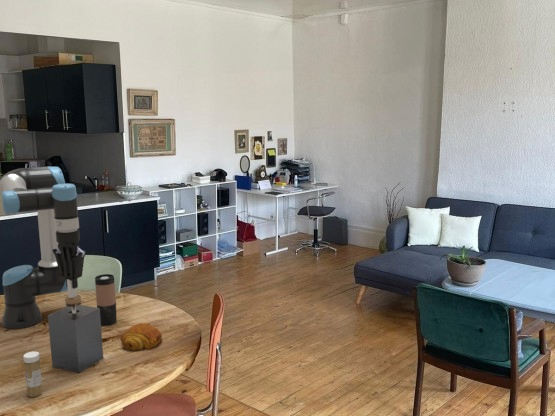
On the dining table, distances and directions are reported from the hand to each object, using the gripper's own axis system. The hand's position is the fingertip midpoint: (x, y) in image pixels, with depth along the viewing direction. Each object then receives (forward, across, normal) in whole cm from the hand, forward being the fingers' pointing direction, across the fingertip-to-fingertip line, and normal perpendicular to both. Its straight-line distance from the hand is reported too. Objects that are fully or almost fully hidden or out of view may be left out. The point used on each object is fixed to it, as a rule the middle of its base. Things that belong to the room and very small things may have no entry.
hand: (72, 296), depth 192 cm
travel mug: (+25, -15, +33) cm, 44 cm away
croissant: (+25, +11, +22) cm, 35 cm away
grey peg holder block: (+24, 0, 0) cm, 24 cm away
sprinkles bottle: (+25, +3, -22) cm, 33 cm away
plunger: (+21, 0, 0) cm, 21 cm away
